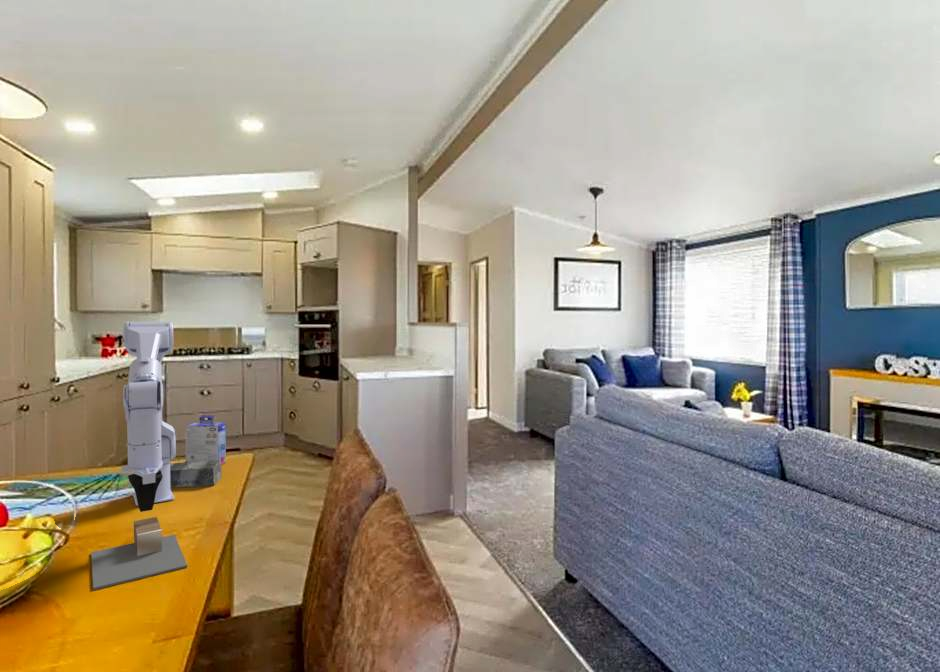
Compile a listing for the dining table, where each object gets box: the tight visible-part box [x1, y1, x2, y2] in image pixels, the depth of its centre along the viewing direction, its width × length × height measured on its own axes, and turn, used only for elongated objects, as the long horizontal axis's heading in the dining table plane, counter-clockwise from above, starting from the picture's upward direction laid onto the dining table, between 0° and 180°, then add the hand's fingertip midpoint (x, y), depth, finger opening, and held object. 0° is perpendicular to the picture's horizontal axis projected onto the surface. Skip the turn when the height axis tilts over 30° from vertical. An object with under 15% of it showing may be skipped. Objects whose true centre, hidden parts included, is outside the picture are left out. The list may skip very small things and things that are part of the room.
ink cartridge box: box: [185, 414, 227, 465], centre depth 160 cm, size 10×6×14 cm, turn 91°
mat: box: [90, 534, 188, 591], centre depth 100 cm, size 16×14×1 cm
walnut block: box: [133, 516, 163, 556], centre depth 105 cm, size 4×4×8 cm
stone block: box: [170, 460, 223, 489], centre depth 144 cm, size 9×14×5 cm, turn 99°
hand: (146, 509), depth 106 cm, fingers closed
